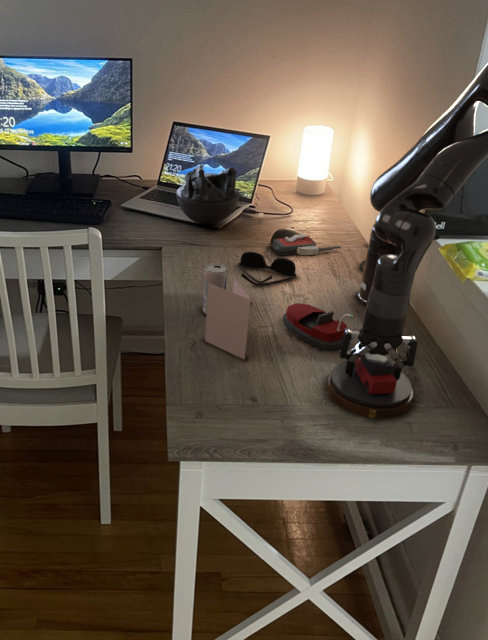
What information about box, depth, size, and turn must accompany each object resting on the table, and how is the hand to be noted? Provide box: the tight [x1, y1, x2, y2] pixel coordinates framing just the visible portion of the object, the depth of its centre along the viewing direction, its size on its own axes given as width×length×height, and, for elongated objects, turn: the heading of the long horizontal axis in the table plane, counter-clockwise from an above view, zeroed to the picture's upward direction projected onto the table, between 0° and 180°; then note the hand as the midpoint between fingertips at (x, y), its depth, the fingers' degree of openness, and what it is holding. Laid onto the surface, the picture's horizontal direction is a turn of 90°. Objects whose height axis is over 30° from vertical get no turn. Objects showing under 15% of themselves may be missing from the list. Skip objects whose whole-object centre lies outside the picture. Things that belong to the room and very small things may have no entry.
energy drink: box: [202, 263, 228, 315], centre depth 167 cm, size 5×5×12 cm
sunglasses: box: [237, 251, 298, 287], centre depth 185 cm, size 17×14×5 cm
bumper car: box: [282, 302, 356, 351], centre depth 159 cm, size 10×20×10 cm, turn 32°
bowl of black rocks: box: [176, 164, 240, 225], centre depth 217 cm, size 20×20×19 cm
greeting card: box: [204, 276, 253, 360], centre depth 152 cm, size 11×7×15 cm, turn 12°
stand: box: [326, 370, 414, 419], centre depth 141 cm, size 17×17×2 cm
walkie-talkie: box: [272, 233, 342, 256], centre depth 203 cm, size 9×4×20 cm
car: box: [331, 352, 413, 407], centre depth 138 cm, size 16×16×6 cm
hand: (371, 377), depth 139 cm, fingers open, 8 cm apart
